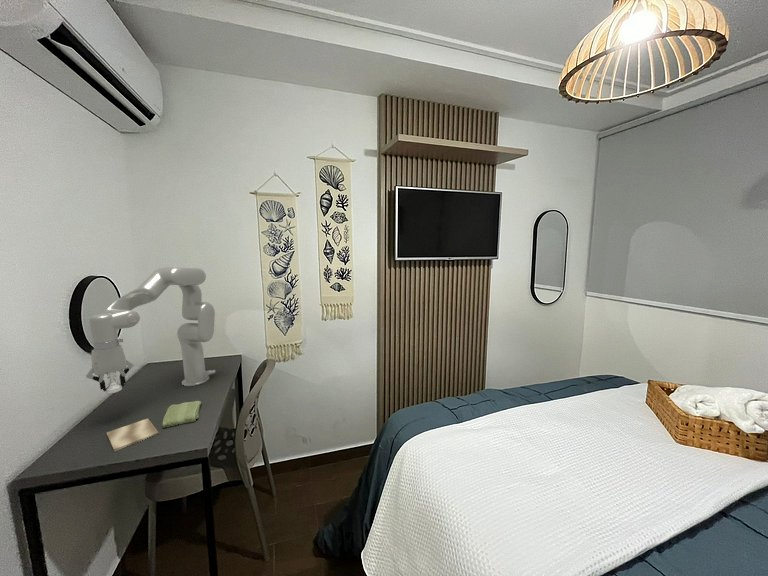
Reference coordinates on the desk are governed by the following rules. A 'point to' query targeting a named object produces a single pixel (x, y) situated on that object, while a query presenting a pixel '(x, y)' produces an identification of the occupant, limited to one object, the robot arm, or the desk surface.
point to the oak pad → (131, 434)
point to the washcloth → (181, 413)
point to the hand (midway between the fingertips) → (113, 387)
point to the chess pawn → (113, 384)
